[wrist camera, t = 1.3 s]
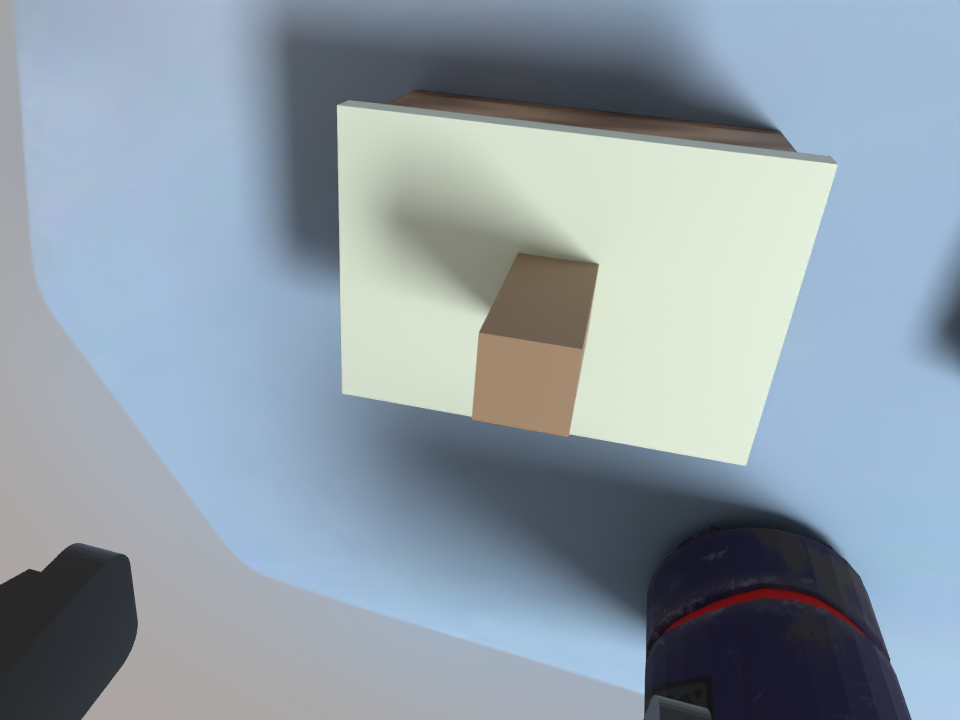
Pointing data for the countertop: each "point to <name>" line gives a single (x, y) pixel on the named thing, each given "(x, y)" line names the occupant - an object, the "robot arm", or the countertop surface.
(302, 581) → the countertop surface
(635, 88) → the countertop surface
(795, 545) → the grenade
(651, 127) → the egg box
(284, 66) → the countertop surface
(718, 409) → the lid
